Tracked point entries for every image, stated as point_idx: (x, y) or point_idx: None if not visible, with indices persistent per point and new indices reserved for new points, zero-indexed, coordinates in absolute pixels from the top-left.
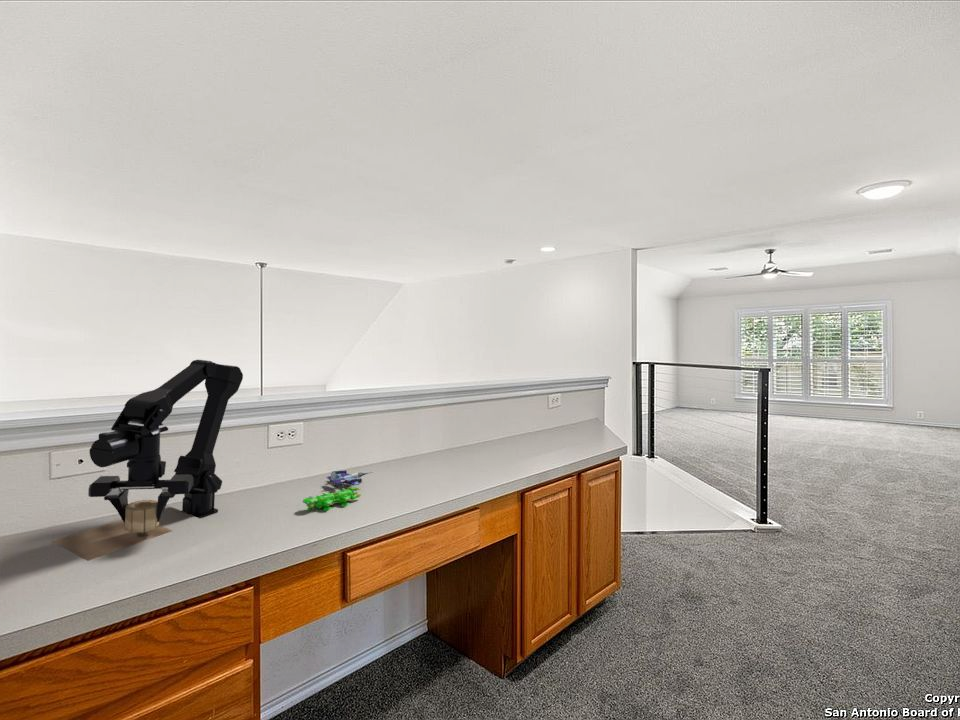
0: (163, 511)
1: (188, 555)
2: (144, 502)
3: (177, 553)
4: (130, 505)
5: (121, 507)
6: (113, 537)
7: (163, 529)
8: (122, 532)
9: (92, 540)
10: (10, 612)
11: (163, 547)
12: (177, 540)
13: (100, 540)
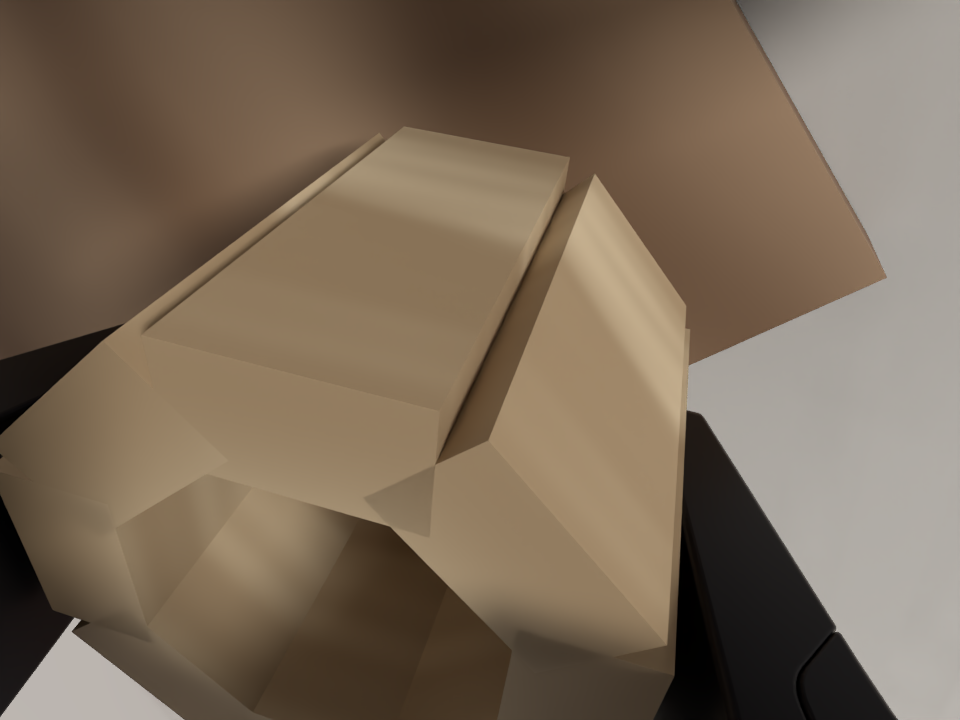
0: (764, 523)
1: (931, 657)
2: (281, 486)
3: (846, 595)
4: (81, 566)
5: (14, 686)
6: (222, 248)
7: (759, 190)
8: (256, 125)
9: (71, 253)
10: (163, 707)
11: (735, 451)
12: (907, 351)
13: (139, 277)
